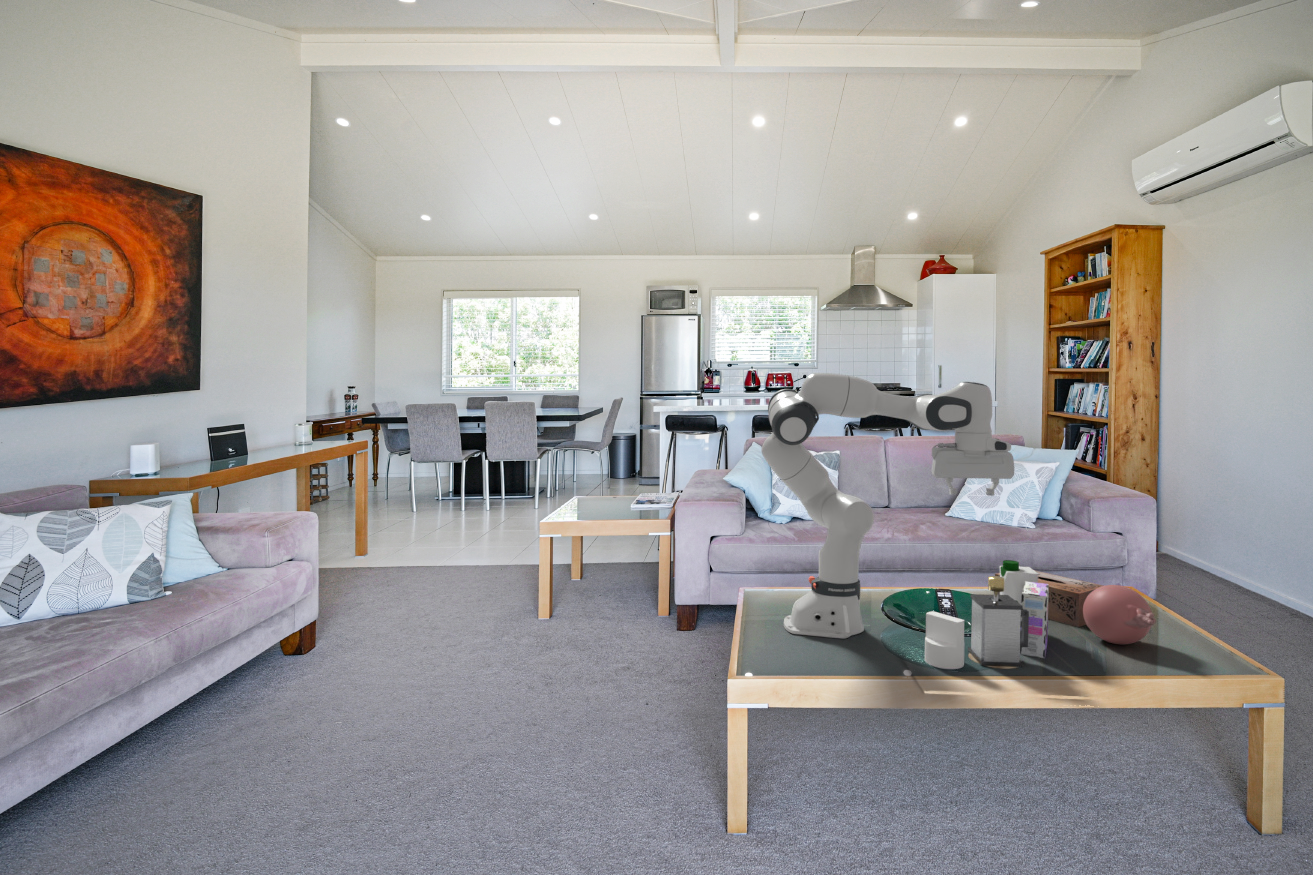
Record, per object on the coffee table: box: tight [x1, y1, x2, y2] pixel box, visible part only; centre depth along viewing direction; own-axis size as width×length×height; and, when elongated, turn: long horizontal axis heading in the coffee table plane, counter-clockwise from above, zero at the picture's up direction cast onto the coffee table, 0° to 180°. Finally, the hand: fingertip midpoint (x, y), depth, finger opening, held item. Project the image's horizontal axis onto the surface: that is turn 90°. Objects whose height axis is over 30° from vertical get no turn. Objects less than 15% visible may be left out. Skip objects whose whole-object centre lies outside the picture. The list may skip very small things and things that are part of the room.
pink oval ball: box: [1083, 584, 1157, 645], centre depth 180 cm, size 15×20×15 cm
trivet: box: [968, 652, 1022, 670], centre depth 171 cm, size 12×12×1 cm
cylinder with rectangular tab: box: [924, 610, 965, 670], centre depth 169 cm, size 9×9×12 cm
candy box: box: [1020, 581, 1049, 659], centre depth 178 cm, size 14×6×16 cm, turn 148°
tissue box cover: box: [994, 569, 1104, 628], centre depth 210 cm, size 26×14×10 cm, turn 30°
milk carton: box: [999, 559, 1038, 628], centre depth 191 cm, size 9×9×20 cm
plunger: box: [987, 575, 1005, 601], centre depth 170 cm, size 6×6×17 cm
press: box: [967, 593, 1029, 668], centre depth 170 cm, size 12×10×15 cm
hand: (971, 495), depth 182 cm, fingers open, 8 cm apart
